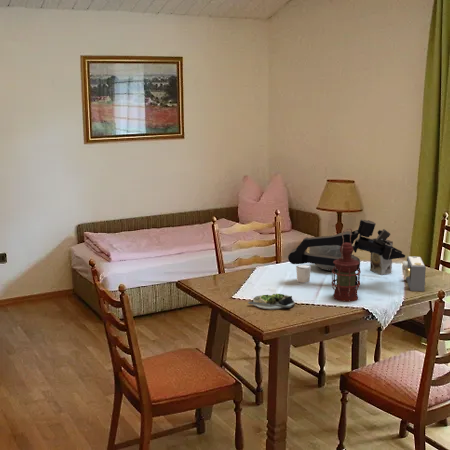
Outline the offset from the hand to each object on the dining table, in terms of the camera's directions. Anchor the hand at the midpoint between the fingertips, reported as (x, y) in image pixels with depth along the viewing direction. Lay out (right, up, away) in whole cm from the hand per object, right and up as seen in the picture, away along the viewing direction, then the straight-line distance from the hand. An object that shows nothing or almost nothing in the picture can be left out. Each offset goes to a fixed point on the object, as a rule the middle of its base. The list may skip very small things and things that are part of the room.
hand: (403, 254), depth 280 cm
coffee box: (-3, -10, +29) cm, 31 cm away
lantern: (-27, -18, -9) cm, 34 cm away
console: (+7, -14, +7) cm, 17 cm away
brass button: (+2, -10, 0) cm, 10 cm away
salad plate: (-58, -20, -15) cm, 63 cm away
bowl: (-27, -9, +36) cm, 45 cm away
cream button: (+5, -8, +12) cm, 15 cm away
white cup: (-42, -13, +16) cm, 47 cm away
